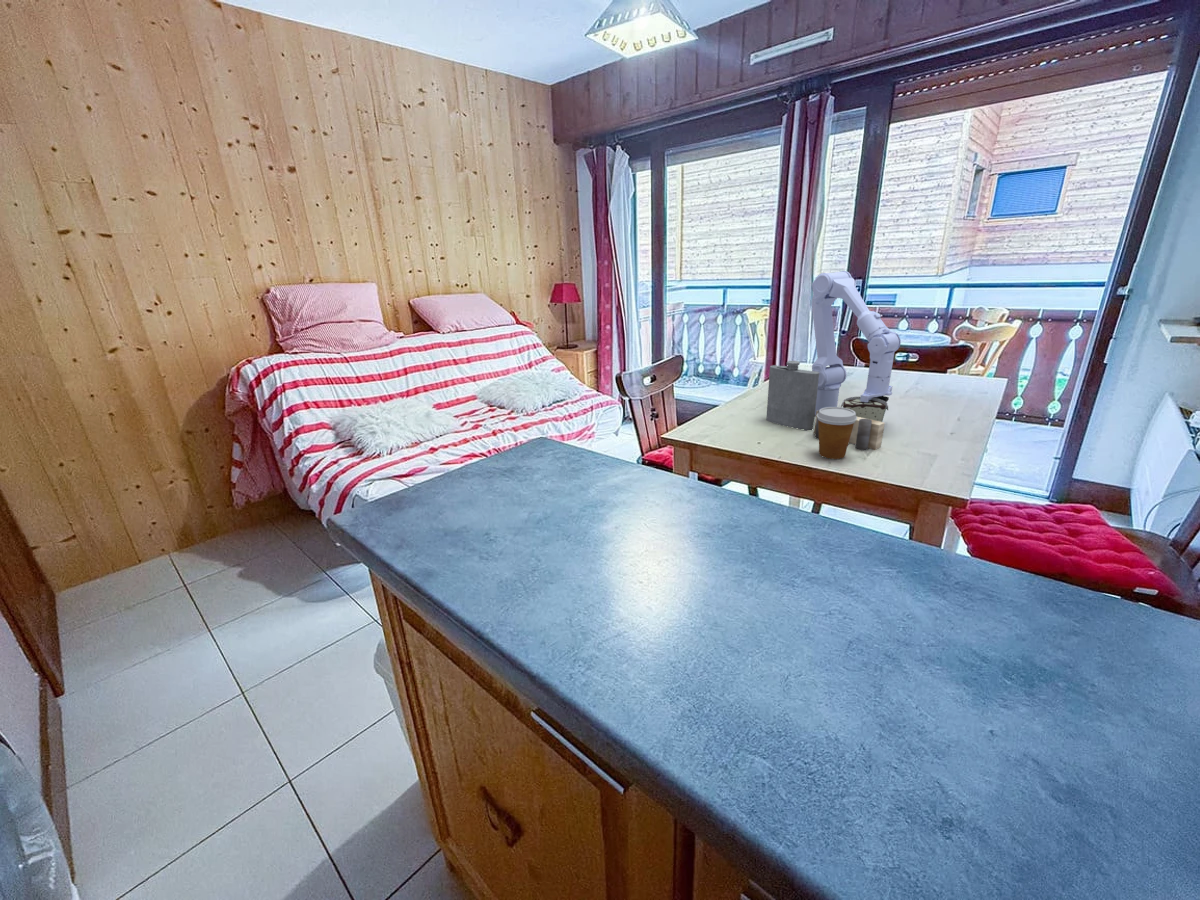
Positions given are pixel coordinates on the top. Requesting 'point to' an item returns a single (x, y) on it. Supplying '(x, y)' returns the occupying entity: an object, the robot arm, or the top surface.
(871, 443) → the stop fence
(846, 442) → the disposable coffee cup
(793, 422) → the hip flask
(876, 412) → the food container
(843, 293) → the robot arm
